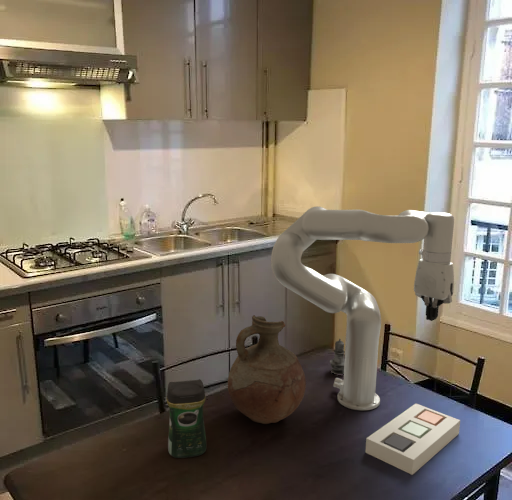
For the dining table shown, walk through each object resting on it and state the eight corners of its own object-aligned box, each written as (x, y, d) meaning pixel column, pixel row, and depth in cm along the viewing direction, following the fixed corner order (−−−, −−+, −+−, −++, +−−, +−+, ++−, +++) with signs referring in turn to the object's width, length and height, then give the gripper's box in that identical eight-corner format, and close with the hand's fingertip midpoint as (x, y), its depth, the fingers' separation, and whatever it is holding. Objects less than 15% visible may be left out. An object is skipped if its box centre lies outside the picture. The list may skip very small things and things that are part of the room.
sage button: (400, 437, 144) (401, 428, 143) (410, 430, 147) (410, 421, 147) (418, 445, 140) (419, 436, 140) (427, 437, 144) (428, 428, 143)
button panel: (365, 452, 140) (366, 438, 139) (414, 416, 158) (415, 403, 157) (412, 474, 131) (413, 459, 130) (458, 433, 149) (460, 420, 148)
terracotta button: (416, 425, 150) (417, 417, 149) (425, 418, 153) (426, 410, 153) (433, 432, 146) (434, 423, 146) (442, 425, 150) (443, 417, 149)
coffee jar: (204, 439, 144) (203, 373, 140) (208, 457, 137) (207, 388, 133) (166, 443, 142) (165, 376, 138) (168, 461, 135) (167, 391, 131)
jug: (320, 422, 154) (324, 319, 147) (258, 447, 141) (260, 337, 134) (271, 392, 170) (273, 299, 164) (212, 412, 158) (212, 313, 151)
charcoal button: (383, 450, 138) (384, 441, 137) (393, 442, 141) (394, 433, 141) (401, 459, 134) (402, 449, 134) (411, 450, 138) (412, 441, 137)
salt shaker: (346, 376, 182) (348, 342, 179) (328, 374, 183) (330, 340, 180) (347, 369, 188) (349, 336, 185) (330, 367, 189) (331, 334, 186)
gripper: (405, 254, 157) (401, 315, 161) (455, 263, 146) (449, 329, 150) (419, 250, 162) (414, 310, 166) (468, 259, 151) (462, 322, 155)
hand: (431, 319), depth 158 cm, fingers closed
